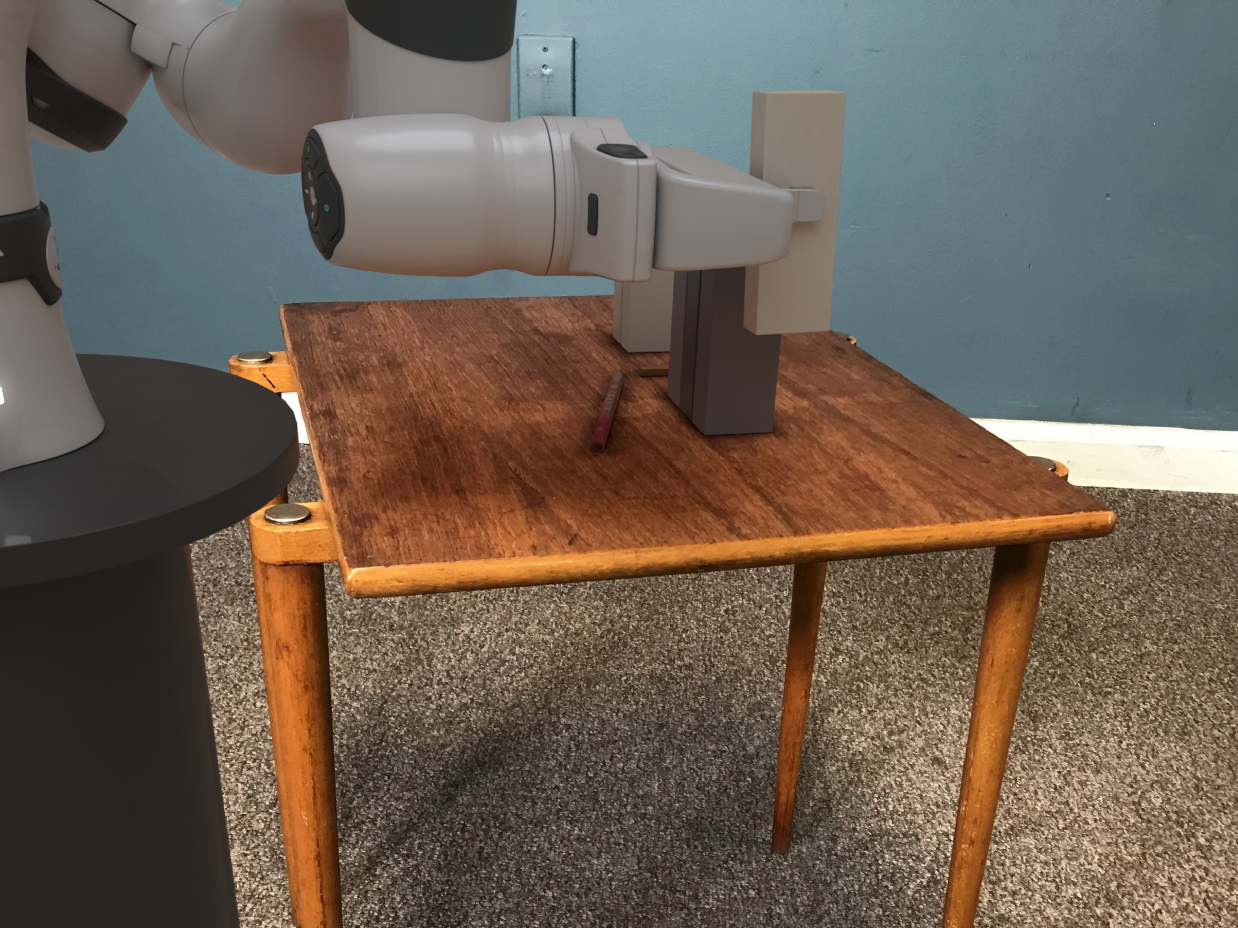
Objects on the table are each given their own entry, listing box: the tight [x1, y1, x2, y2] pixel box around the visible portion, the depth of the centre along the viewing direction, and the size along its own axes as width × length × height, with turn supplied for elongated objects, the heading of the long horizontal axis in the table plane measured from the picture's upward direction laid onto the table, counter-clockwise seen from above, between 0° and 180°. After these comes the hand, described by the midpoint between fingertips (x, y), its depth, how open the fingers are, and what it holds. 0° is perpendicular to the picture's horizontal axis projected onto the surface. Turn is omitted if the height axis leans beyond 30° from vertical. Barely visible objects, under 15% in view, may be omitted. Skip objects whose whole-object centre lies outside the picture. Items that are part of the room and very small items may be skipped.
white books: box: [612, 268, 674, 377], centre depth 106 cm, size 6×13×14 cm, turn 15°
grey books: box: [667, 266, 782, 436], centre depth 93 cm, size 5×10×12 cm, turn 15°
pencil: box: [589, 370, 624, 454], centre depth 95 cm, size 19×1×1 cm, turn 176°
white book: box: [743, 89, 847, 335], centre depth 78 cm, size 5×2×14 cm, turn 105°
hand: (808, 199), depth 78 cm, fingers closed on white book, 2 cm apart
